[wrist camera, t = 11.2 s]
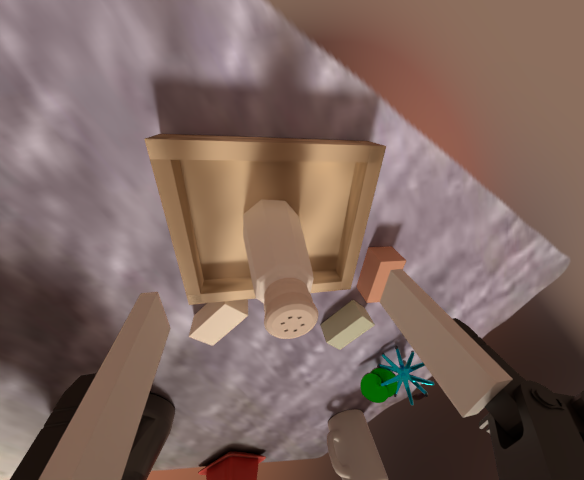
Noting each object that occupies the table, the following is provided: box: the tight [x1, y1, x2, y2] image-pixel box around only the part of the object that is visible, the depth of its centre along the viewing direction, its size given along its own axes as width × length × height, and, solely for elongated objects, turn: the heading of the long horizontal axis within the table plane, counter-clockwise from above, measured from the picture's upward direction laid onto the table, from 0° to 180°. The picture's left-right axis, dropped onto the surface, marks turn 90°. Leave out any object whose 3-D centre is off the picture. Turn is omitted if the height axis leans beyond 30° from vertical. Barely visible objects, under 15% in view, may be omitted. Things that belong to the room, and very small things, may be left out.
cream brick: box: [189, 299, 248, 346], centre depth 25 cm, size 6×3×3 cm, turn 133°
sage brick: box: [321, 300, 375, 350], centre depth 30 cm, size 6×3×3 cm, turn 135°
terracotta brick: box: [356, 247, 406, 303], centre depth 26 cm, size 6×3×3 cm, turn 175°
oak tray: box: [145, 134, 386, 305], centre depth 20 cm, size 16×14×3 cm
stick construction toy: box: [361, 346, 434, 405], centre depth 38 cm, size 12×7×8 cm
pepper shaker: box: [243, 199, 318, 339], centre depth 16 cm, size 5×5×11 cm
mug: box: [327, 409, 388, 480], centre depth 45 cm, size 12×8×11 cm
